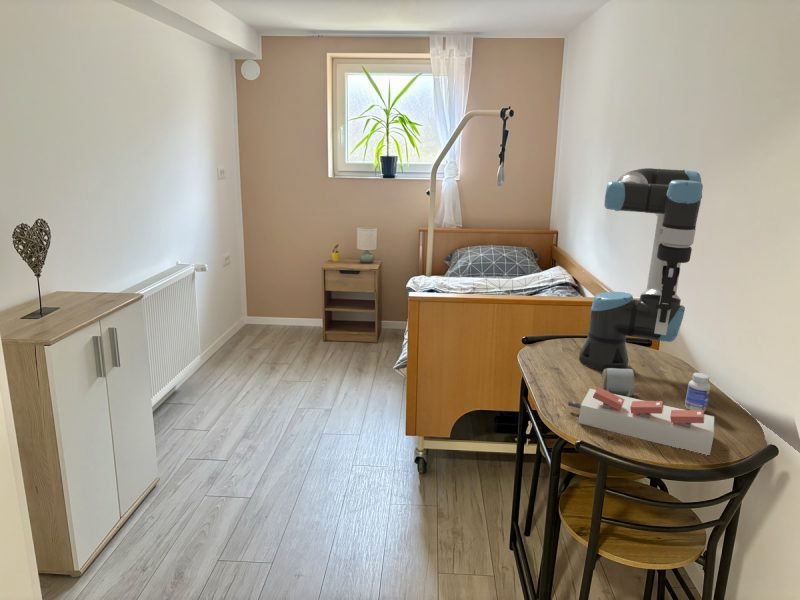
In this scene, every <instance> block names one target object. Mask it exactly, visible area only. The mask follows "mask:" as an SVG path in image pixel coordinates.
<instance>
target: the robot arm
mask: <svg viewBox="0 0 800 600" xmlns="http://www.w3.org/2000/svg"><path fill="white" fill-rule="evenodd" d="M701 176H702V175H701V174H700V173H699V172H698V171H693V170H686V169H667V168H663V169H662V168H653V167H651V168H650V167H649V168H648V167H647V168H645V167H644V168H638V169H634V170H633V169H632V170H629V171H627V172H625V173H624V174H622V175H621V176H620V177H618V179H617V180H616V181H608V182H607V185H606V188H605V189H606V190H605V196H604V208H605V209H607V210H611V211H615V212H619V211H621V212H635V213H646V214H655V215H656V216H657V219H656V225H655V233H654V237H653V238H654V240H653V245H652V246H653V247H652V253H651V259H650V265H649V273H648V277H647V285H646V290H645V291H643V292H642V293H641V294H640V296H639V299H634V297H633V294H631V293H629V292H623V291H606V292H601V293H598V294H595V296H594V297H593V300H592V306H591V308H590V310H591V311H590V312H591V313H590V317H589V318H590V320H589V326H588V332H587V337H586V340H585V342H584V344H583V346H582V348H581V350H580V351H579V356H578V357H579V358H578V360H579V362H580V363H581V364H583V365H584V366H586V367H589V368H591V369H595V370H598V371H603V370H604V369H607V368H616V369H628V366H629V355H628V349H627V344H626V341H627V337H632V338H633V337H634V338H640V339H646V340H653V341H657V342H666V343H668V342H669V343H672V342H674V341H675V340H676V339H677V336H678V334H679V332H680V328H681V326H682V322H683V318H684V315H685V310H686V307H685V306H684V305H682V304H681V301H682V300H681V298H680V297H679V296H678V294H677V292H678V284H679V279H680V278H679V277H680V271H681V264H686V263H689V262H690V260H691V255H692V250H693V248H692V247H691V246H693V245H694V241H695V234H696V228H697V222H698V216H699V212H700V207H701V202H702V200H701V199H703V187H704V185H703V183H702V178H701Z"/></svg>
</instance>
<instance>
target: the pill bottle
mask: <svg viewBox="0 0 800 600" xmlns="http://www.w3.org/2000/svg"><path fill="white" fill-rule="evenodd" d="M709 382H710V375H708V374H707V373H706V374H705V373H702V372H694V373H693V374H692V379H691V380H690V381H689V382H688V384H687V385H688V386H687V391H686V396H685V403H684V406H685V408H686V410H704V412H706V411H707V409H708V408H707V407H708V404H709V397H710V391H711V387H712V386H711V384H710V383H709Z"/></svg>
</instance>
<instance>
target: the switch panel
mask: <svg viewBox="0 0 800 600" xmlns="http://www.w3.org/2000/svg"><path fill="white" fill-rule="evenodd" d="M596 390H597V389H593V388H589V389H588V392H587V393H586V395H585V396H584V398H583V400H582V402H581V403H579V402H575V401H572V400H571V401H570V400H569V401H568V404H567V406H569V407H573V408H578V409H579V414H578V415H579V417H578V421H577V423H578V424H580V425H583V426H584V425H586V426H588V427H593V428H597V429H600V430H604V431H609V432H613V433H616V434H621V435H624V436H629V437H633V438H635V439H640V440H644V441H647V442H648V441H649V442H651V443H656V444H660V445H664V446H667V445H668V447H671V446H672V448H675V447H676V449H679V448H681V449H680V450H683V449H686V450H685V451H687V450H690V451H689V452H691V451H694V452H693V453H695V452H699V453H702V454H701V455H703V454H706V455H705V456H707V455H710V456H711V451H712V445H713V440H714V438H715V437H714V436H715V435H714V434H715V431H714V430H715V416H714V415H709V414H705V413H704V423H671V419H670V415H671V410H684V409H682V408H677V407H672V406H669V405H664V404H663V407H664V408H663V412H662V414H651V413H631V409H630V407H631V404H632V401H644V400H642V399H638V398H634V397H626V396H622V395H617V394H614V395H617V396H619V397H621V398H623V399H625V400H624V403H623V405H622V407H621V409H620V411H619V410H617V409H615V408H613V407H611V406H609V405H607V404H605V403H603V402H601V401H599V400H597V399H595V398H593V396H594V394H595V391H596ZM699 453H698V454H699Z"/></svg>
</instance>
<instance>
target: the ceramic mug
mask: <svg viewBox="0 0 800 600" xmlns="http://www.w3.org/2000/svg"><path fill="white" fill-rule="evenodd" d="M601 375H602V376H601V388H602V389H604V390H606V391H608V392H610V393H612V394H617V395H621V396H625V397H630V398H632V397H633V394H634V388H635V373H634V369H632V368H626V369H616V368H607V369H604V370H602V374H601Z"/></svg>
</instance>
